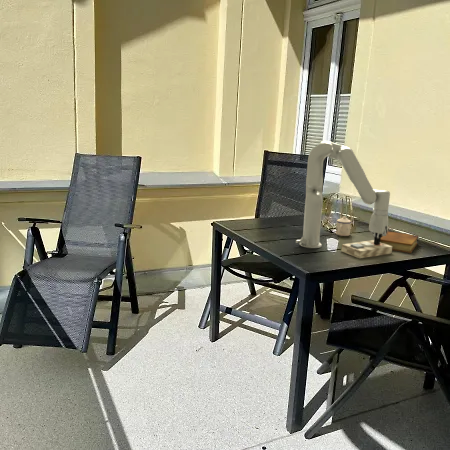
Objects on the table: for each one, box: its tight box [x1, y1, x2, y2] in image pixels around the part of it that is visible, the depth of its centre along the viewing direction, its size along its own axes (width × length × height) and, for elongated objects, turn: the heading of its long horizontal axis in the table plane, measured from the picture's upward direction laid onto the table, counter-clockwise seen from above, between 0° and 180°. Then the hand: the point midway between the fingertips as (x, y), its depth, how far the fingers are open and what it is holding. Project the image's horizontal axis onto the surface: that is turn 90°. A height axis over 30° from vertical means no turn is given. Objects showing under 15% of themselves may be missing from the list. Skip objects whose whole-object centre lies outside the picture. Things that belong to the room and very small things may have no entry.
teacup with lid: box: [335, 216, 352, 237], centre depth 282 cm, size 12×9×12 cm
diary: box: [380, 230, 419, 254], centre depth 262 cm, size 23×19×6 cm
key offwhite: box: [361, 242, 374, 247], centre depth 246 cm, size 5×5×2 cm
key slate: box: [351, 243, 364, 249], centre depth 242 cm, size 5×5×2 cm
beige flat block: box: [340, 239, 393, 259], centre depth 246 cm, size 24×14×4 cm, turn 118°
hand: (376, 244), depth 249 cm, fingers closed
